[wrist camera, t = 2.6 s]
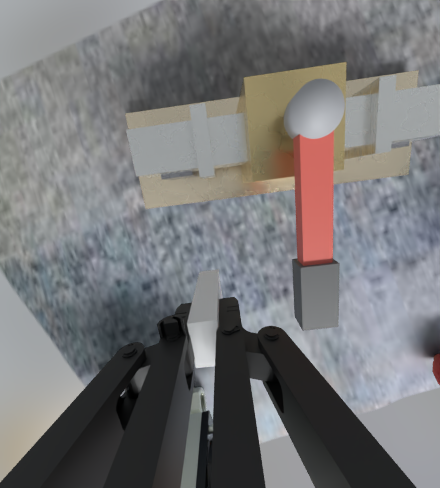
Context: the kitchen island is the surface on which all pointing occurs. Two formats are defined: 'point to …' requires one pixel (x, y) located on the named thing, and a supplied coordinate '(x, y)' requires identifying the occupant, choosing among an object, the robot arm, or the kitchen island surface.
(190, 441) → the ball valve
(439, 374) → the onion
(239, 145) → the valve pipe
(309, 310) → the lever
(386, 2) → the kitchen island surface
